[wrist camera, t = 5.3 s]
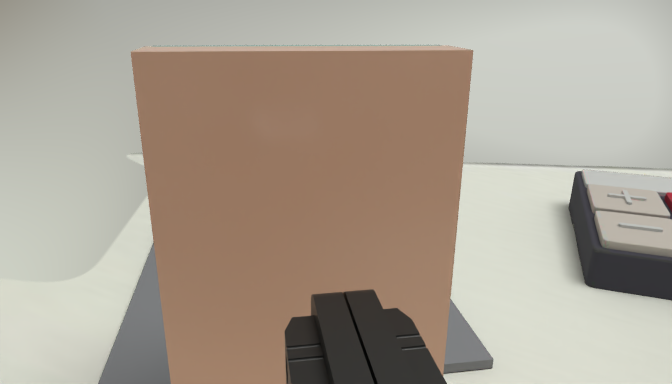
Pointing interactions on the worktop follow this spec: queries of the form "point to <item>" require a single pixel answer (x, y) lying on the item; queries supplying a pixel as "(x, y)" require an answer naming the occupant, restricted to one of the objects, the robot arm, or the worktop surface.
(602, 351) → the worktop surface
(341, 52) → the tile
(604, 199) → the calculator
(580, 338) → the worktop surface
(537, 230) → the worktop surface
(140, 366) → the mat
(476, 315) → the worktop surface
